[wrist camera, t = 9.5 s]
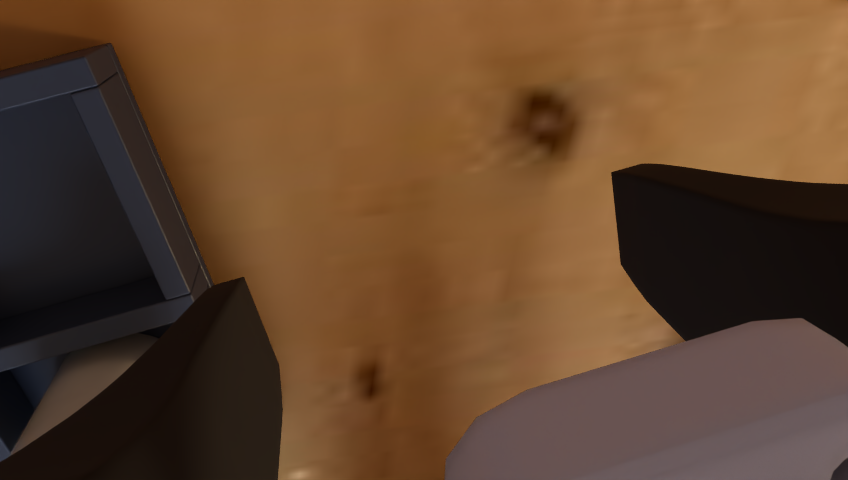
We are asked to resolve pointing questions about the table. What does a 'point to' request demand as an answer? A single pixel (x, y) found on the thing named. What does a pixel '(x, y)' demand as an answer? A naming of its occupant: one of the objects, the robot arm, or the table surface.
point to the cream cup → (82, 382)
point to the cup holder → (81, 225)
